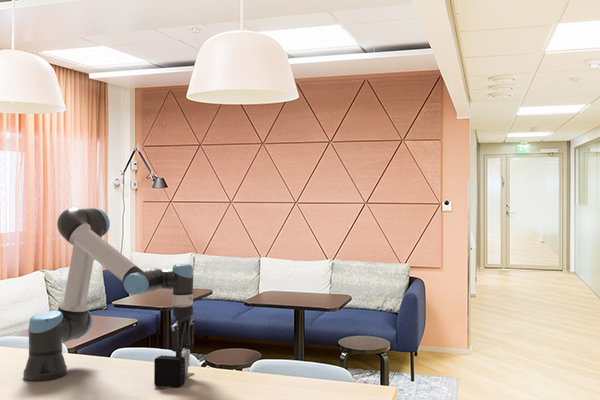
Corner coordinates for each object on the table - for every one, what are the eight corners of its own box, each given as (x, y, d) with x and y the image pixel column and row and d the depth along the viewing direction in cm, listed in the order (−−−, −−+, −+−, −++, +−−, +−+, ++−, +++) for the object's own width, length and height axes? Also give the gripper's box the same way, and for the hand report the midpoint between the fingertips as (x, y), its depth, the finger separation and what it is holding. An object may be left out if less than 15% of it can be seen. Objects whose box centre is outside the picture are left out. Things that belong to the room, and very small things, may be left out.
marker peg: (176, 377, 208) (176, 352, 209) (181, 374, 212) (181, 350, 212) (184, 378, 207) (184, 353, 207) (189, 375, 210) (189, 351, 211)
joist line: (154, 388, 196) (154, 388, 196) (187, 373, 215) (187, 372, 215) (161, 390, 195) (161, 389, 195) (194, 374, 214) (194, 373, 214)
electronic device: (179, 388, 197) (180, 359, 197) (154, 386, 199) (154, 358, 200) (184, 384, 201) (185, 356, 201) (159, 382, 203) (159, 355, 204)
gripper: (178, 309, 201) (178, 374, 200) (203, 302, 216) (203, 363, 216) (161, 308, 204) (161, 372, 203) (187, 301, 219) (187, 361, 219)
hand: (183, 367), depth 209 cm, fingers closed on marker peg, 4 cm apart
